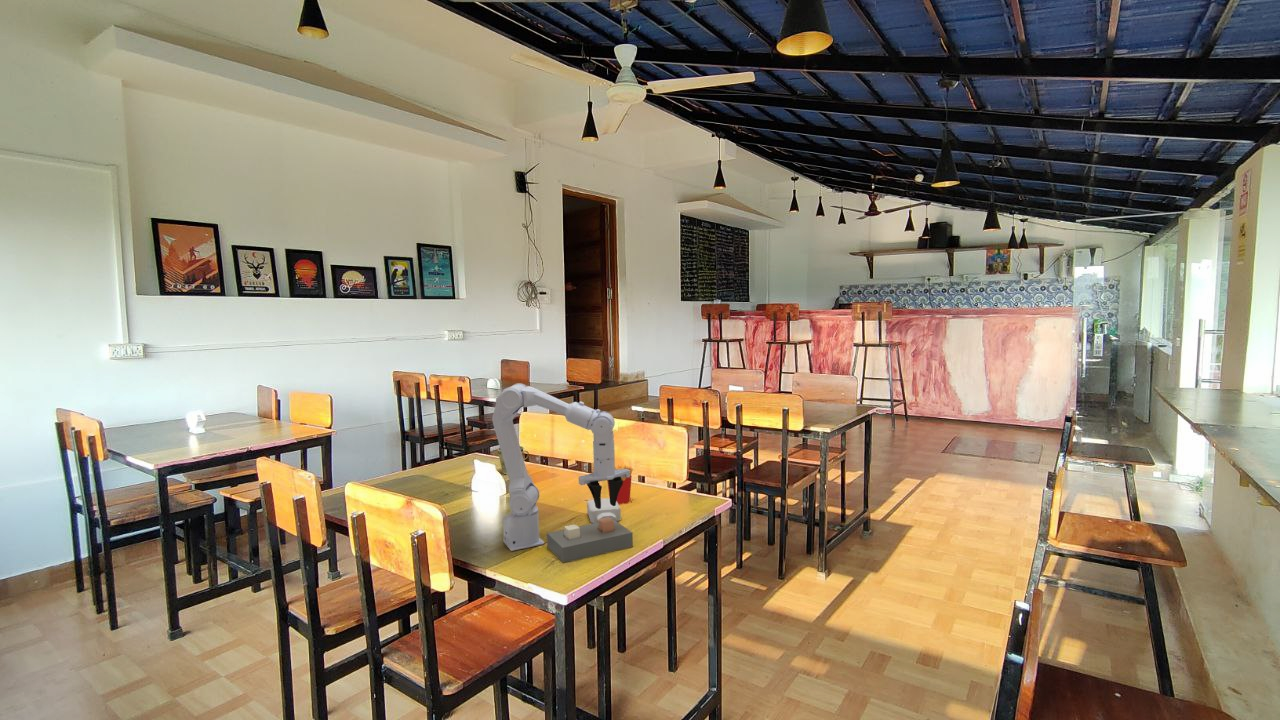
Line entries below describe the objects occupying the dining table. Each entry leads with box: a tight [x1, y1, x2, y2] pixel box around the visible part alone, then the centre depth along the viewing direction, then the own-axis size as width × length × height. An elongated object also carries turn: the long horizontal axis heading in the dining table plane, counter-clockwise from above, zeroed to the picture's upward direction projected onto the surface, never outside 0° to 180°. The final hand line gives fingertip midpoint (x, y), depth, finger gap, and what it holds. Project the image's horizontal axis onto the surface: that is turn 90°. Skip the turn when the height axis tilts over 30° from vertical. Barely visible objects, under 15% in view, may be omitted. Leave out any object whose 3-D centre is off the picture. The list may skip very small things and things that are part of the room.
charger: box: [586, 497, 622, 524], centre depth 187 cm, size 5×9×15 cm
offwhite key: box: [563, 524, 580, 540], centre depth 164 cm, size 3×3×3 cm
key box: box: [546, 519, 634, 564], centre depth 166 cm, size 20×12×4 cm, turn 118°
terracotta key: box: [598, 518, 614, 533], centre depth 168 cm, size 3×3×3 cm
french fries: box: [606, 464, 633, 505], centre depth 204 cm, size 8×4×12 cm, turn 103°
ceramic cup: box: [497, 445, 530, 476], centre depth 242 cm, size 13×10×10 cm
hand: (605, 506), depth 168 cm, fingers open, 4 cm apart
